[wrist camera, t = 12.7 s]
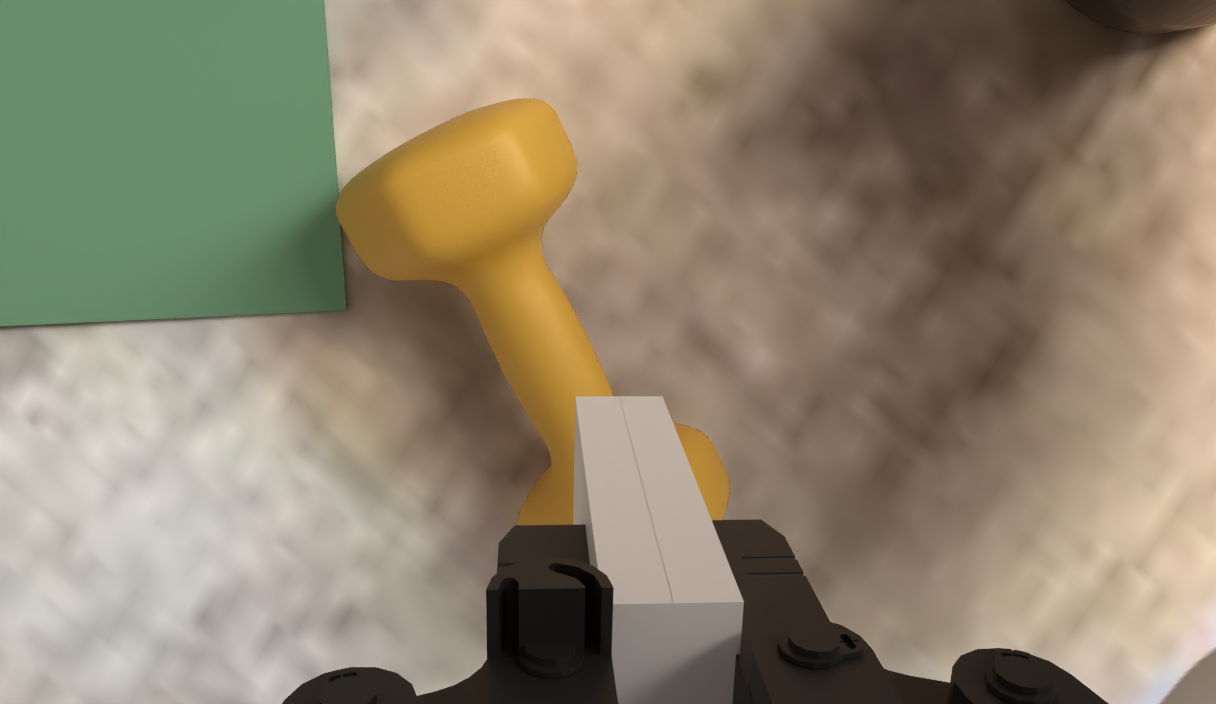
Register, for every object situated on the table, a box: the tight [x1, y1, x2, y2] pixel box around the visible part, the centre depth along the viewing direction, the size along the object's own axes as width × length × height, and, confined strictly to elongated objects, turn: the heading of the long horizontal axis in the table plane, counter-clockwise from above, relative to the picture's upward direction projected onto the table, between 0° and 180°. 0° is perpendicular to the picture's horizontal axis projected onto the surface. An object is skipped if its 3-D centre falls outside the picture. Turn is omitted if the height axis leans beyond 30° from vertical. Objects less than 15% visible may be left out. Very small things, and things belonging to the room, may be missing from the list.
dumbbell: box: [336, 99, 730, 525], centre depth 37 cm, size 19×9×8 cm, turn 25°
